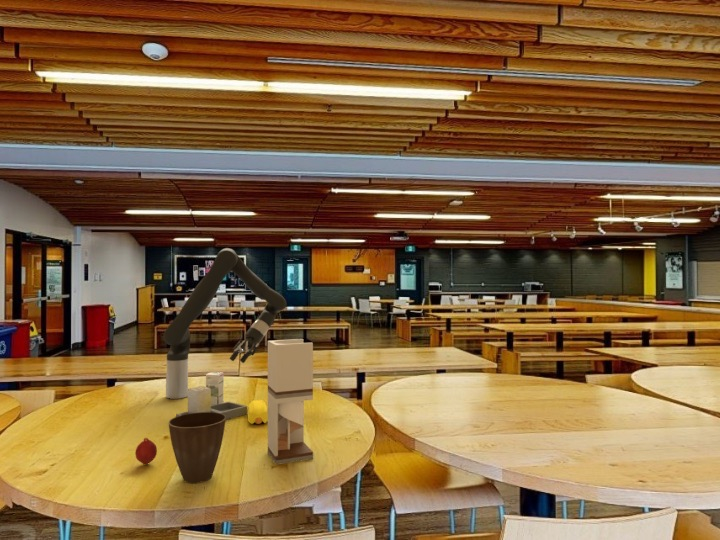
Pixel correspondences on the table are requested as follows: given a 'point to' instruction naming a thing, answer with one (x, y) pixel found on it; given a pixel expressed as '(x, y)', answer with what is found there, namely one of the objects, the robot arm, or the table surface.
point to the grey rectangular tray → (226, 409)
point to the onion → (146, 451)
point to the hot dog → (257, 412)
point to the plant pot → (197, 443)
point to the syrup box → (215, 386)
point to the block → (199, 399)
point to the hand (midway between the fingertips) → (236, 360)
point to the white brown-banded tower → (288, 398)
